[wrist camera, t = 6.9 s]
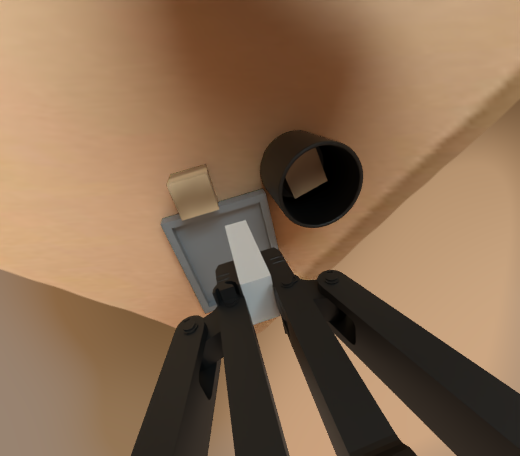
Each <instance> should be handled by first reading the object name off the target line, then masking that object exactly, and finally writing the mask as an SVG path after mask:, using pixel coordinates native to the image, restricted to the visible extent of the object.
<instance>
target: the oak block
mask: <svg viewBox="0 0 520 456" xmlns="http://www.w3.org/2000/svg"><path fill="white" fill-rule="evenodd" d="M167 188H168V190H169V192H170V194H171V197H172V199H173V201H174V203H175V206H176V208H177V210H178V212H179V215H180V217H181V219H182V221H183V220H186V219H190V218H193V217H196V216H199V215H203V214H206V213H209V212H213V211H216V210H219V206H218V200H217V195H216V193H215V190H214V187H213V184H212V181H211V178H210V175H209V172H208V169H207V166H206V164H204V165H201V166H197V167H194V168H190V169H187V170H183V171H180V172H176V173H173V174H170V177H169V180H168V182H167Z"/></svg>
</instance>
